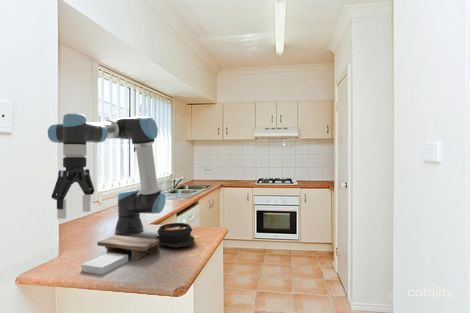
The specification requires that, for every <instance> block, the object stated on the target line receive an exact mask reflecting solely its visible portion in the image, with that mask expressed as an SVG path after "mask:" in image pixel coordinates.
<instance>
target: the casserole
mask: <svg viewBox="0 0 470 313" xmlns="http://www.w3.org/2000/svg"><path fill="white" fill-rule="evenodd" d="M192 231H193V229H192V227H191V225H190V224H189V223H185V222H174V223H173V222H172V223H167V224H162V225H160V226H159V228H158V230H157V232H156V233H157V234H158V235H157V236H156V239H157V240H159V246H160V245H161V246H166V247H169V248H182V247H184V248H185V247H188V246H191V245H194V243H195V237H194V236H193V235H191V233H192Z"/></svg>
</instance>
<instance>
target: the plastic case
mask: <svg viewBox="0 0 470 313" xmlns="http://www.w3.org/2000/svg"><path fill="white" fill-rule="evenodd" d="M128 262H129V255H128V254H123V253H107V252H106V253H104V254H102V255H100V256H97V257H95V258H93V259H91V260H89V261H86V262H84V263H82V264H81V266H80V267H81V272H84V273H89V274H90V273H91V274H98V275H104V274H106V273H108V272H111V271H112V270H114V269H115V268H118V267H119V266H121V265H123V264H126V263H128Z"/></svg>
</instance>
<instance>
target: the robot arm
mask: <svg viewBox="0 0 470 313" xmlns="http://www.w3.org/2000/svg"><path fill="white" fill-rule="evenodd" d="M62 118H63V119H62V124H61V123H56V124H51V125H50V126H49V127H48V128H47V138H48V140H50V141H51V142H52V143H59V144H62V146H63V147H62V154H63V156H64V157H63V158H62V167H63V168H65V170H58V174H57V175H58V176H57V179H56V182H55V185H54V189H53V191H52V193H51V199H53V200H56V211H57V215H56V218H57V220H58V219H60V220H61V219H62V220H65V219H67V199H66V196H67V194H68V192H69V191H70V189H71V186H72V185H73V184H74V183H77V184H78V186H79V187H80V189H81V191H82V193H83V194H82V213H90V212H91V199H92V196H91V195H94V193H95V188H94V184H93V181H92V179H91V178H92V177H91V174H90V169H88V168H87V169H86V167H87V157H85V156H87V143H97V144H98V143H104V142H105V141H106V140H107V139H117V140H118V139H120V140H131V143H132V145H133V146H134V147H135V152H136V158H137V159H136V160H137V166H138V174H139V182H140V189H131V190H125V191H120V192H119V193H118V195H117V213H118V215H117V216H118V218H117V222H116V225H115V229H114V231H115V232H114V233H115V234H116V235H133V234H138V233H140V232H143V231H144V225H143V222H142V219H141V214H152V215H155V214H160V213H162V212H163V211H164V209H165V206H166V200H167V199H166V198H167V197H166V194H165V193H164V192H162V191H161V187H159V186H158V181H157V180H158V179H157V174H156V165H155V164H156V163H155V156H154V148H153V144H154V143H155V139H157V138H158V133H159V130H158V125H157V122H156V120H154V119H153V117H151V116H131V117H127V116H126V117H120V118H119V117H118V118H115V119H108V120H105V121H101V122H100V121H99V122H89V121H88V122H87V117H86V115H84V114H82V113H81V114H80V113H66V114H64V115H63V117H62ZM84 168H85V169H84Z"/></svg>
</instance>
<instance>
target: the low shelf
mask: <svg viewBox="0 0 470 313" xmlns="http://www.w3.org/2000/svg"><path fill="white" fill-rule="evenodd" d="M97 246H98V247H105V246H106V247H107V248H106V253H117V254H120V253H121V252H123V251H128V252H131V261H136V260H138V259H140V258H142V257H143V256H145V255H148V254H154V255H155V254H156V255H159V254H160V244H159V240H157V238H144V237H135V236H134V237H133V236H128V235H127V236H125V235H118V234H116V235H112V236H109V237H107V238H104V239H102V240H99V241H97Z"/></svg>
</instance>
